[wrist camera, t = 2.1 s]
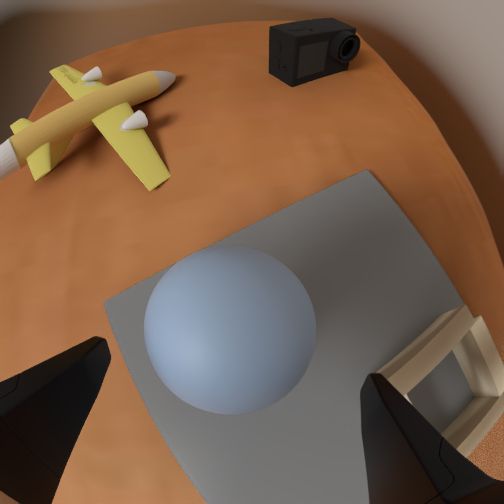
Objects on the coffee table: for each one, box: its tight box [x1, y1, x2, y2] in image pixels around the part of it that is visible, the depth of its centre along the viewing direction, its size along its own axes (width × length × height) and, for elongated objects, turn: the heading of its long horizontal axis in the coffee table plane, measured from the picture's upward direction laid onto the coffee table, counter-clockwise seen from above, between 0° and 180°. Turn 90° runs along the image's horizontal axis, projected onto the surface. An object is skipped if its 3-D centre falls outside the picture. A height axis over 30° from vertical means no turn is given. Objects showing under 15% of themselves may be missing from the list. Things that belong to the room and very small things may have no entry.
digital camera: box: [269, 18, 360, 87], centre depth 26 cm, size 10×5×7 cm, turn 126°
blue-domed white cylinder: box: [144, 245, 316, 415], centre depth 11 cm, size 4×4×12 cm
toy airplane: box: [0, 65, 176, 191], centre depth 22 cm, size 26×7×30 cm
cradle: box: [376, 304, 504, 457], centre depth 13 cm, size 9×9×3 cm
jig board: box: [103, 169, 474, 504], centre depth 16 cm, size 23×23×1 cm
